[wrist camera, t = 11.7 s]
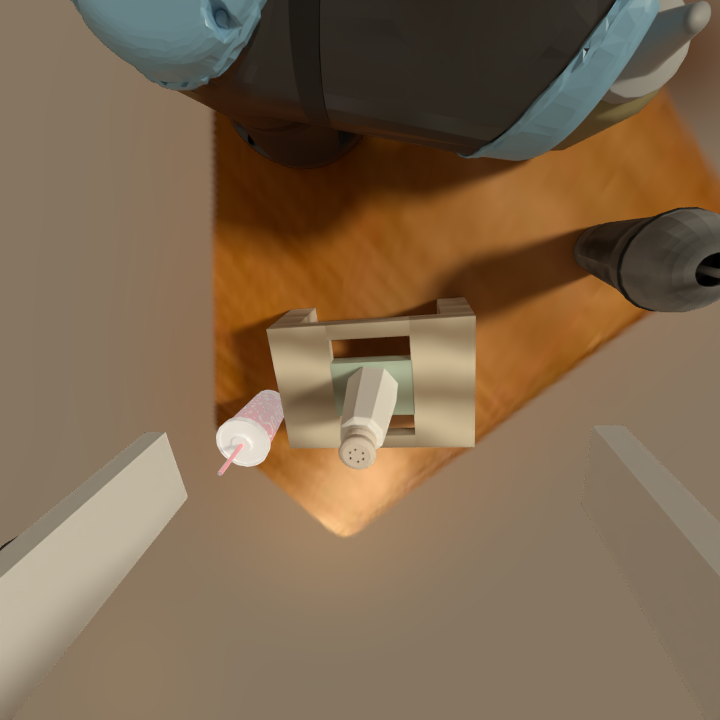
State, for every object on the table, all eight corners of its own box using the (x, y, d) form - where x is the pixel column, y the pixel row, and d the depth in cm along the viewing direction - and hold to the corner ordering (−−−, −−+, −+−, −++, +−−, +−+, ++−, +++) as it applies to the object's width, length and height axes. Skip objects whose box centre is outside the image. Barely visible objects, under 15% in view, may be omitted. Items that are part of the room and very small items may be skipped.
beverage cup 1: (296, 424, 49) (255, 498, 37) (254, 425, 50) (199, 497, 38) (288, 383, 47) (242, 447, 34) (244, 385, 48) (183, 447, 35)
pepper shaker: (337, 398, 38) (309, 466, 28) (359, 355, 36) (338, 411, 26) (384, 421, 38) (373, 496, 28) (408, 379, 36) (406, 444, 26)
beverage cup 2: (590, 195, 35) (786, 175, 17) (656, 229, 35) (920, 247, 17) (544, 265, 38) (667, 314, 19) (605, 296, 38) (783, 373, 20)
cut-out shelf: (291, 309, 43) (266, 329, 36) (464, 297, 40) (475, 315, 33) (309, 412, 48) (290, 448, 41) (464, 408, 45) (474, 446, 38)
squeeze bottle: (523, 174, 35) (636, 160, 19) (481, 93, 33) (570, -3, 16) (607, 113, 33) (823, 37, 16) (569, 21, 30) (777, -176, 14)
